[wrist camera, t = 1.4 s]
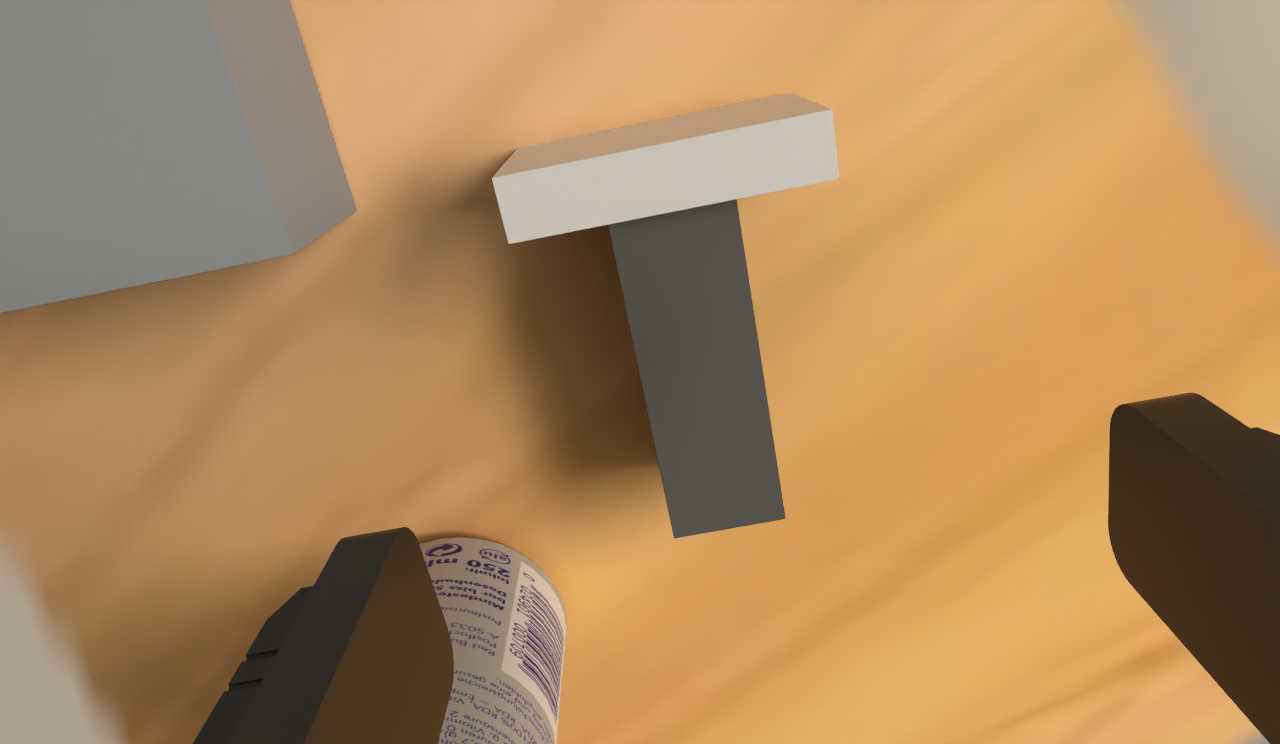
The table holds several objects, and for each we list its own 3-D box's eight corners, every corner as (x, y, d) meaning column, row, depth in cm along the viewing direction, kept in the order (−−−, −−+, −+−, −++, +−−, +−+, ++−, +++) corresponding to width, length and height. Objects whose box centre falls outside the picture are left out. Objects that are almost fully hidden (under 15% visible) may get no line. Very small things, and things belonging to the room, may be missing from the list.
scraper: (832, 431, 22) (876, 516, 18) (596, 474, 22) (590, 566, 18) (790, 92, 19) (832, 109, 15) (517, 148, 19) (492, 177, 15)
